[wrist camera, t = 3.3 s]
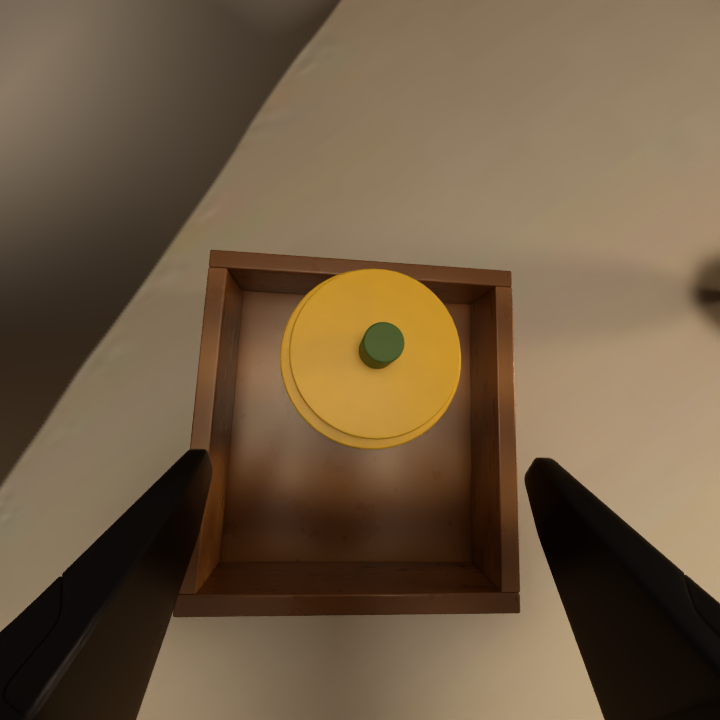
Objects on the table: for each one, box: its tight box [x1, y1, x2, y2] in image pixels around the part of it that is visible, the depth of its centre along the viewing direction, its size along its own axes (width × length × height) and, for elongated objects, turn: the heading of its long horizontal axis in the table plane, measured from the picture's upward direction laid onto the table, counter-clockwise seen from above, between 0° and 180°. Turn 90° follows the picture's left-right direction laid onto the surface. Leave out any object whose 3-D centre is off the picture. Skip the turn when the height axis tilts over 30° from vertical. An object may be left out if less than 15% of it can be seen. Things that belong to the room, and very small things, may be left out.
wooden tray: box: [173, 250, 520, 617], centre depth 17 cm, size 15×14×6 cm
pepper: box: [280, 269, 461, 450], centre depth 14 cm, size 6×6×9 cm
